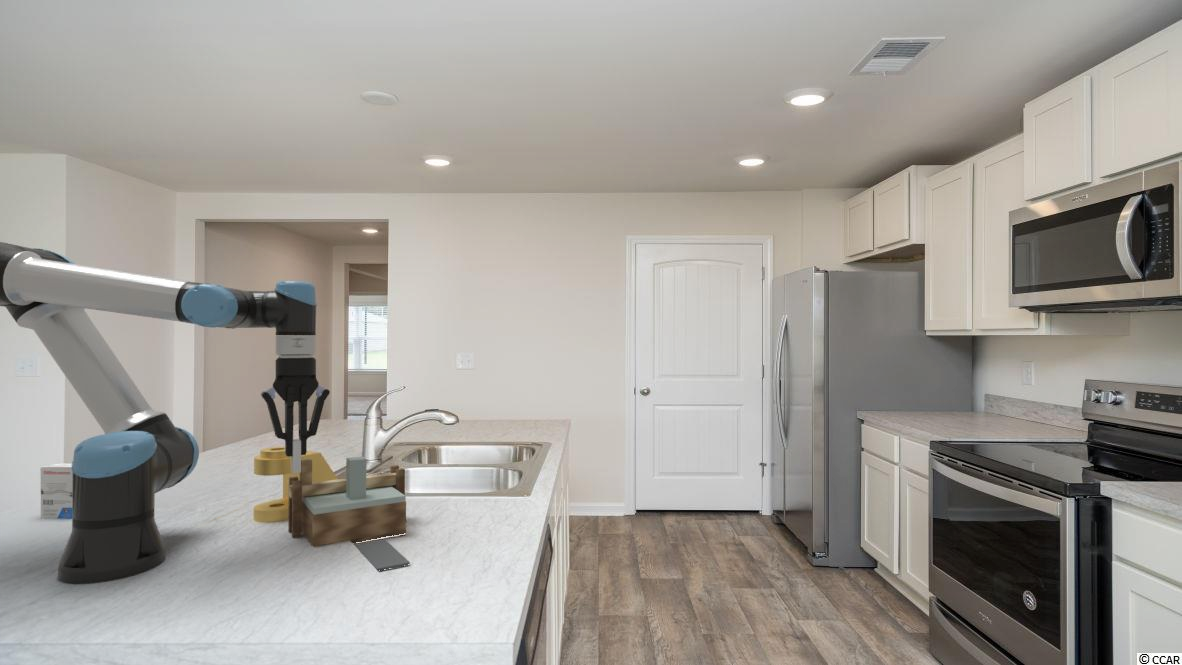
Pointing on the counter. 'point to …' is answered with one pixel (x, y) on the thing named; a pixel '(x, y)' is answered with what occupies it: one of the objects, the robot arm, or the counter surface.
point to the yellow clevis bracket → (285, 479)
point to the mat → (382, 555)
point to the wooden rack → (347, 518)
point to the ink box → (56, 491)
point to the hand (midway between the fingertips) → (295, 471)
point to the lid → (353, 492)
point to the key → (335, 482)
